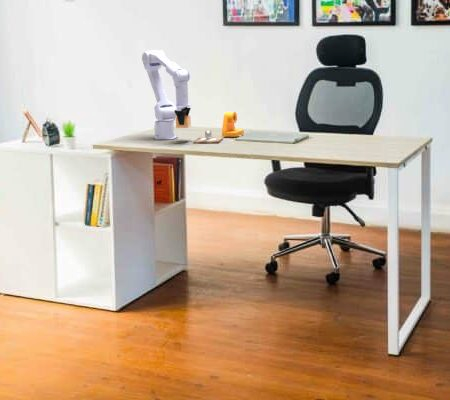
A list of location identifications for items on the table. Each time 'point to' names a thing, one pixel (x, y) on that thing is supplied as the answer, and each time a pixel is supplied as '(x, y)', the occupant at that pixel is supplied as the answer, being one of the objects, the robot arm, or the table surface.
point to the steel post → (208, 135)
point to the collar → (186, 123)
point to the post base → (212, 141)
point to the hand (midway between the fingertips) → (183, 123)
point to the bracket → (230, 125)
